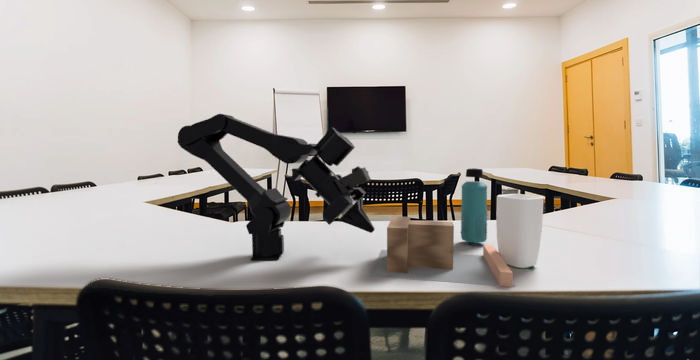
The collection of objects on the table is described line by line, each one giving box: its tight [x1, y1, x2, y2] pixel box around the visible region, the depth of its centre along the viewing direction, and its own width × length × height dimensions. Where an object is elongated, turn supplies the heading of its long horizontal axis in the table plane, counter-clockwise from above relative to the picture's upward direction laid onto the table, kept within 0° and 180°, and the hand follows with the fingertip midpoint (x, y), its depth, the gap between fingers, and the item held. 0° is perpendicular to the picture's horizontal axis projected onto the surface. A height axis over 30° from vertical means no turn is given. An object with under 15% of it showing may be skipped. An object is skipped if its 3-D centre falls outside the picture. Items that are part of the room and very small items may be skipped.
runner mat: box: [369, 244, 516, 288], centre depth 71 cm, size 26×18×3 cm
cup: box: [495, 193, 544, 269], centre depth 71 cm, size 7×7×15 cm
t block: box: [386, 216, 455, 273], centre depth 71 cm, size 13×12×9 cm
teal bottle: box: [460, 167, 489, 244], centre depth 87 cm, size 6×7×20 cm
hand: (373, 231), depth 73 cm, fingers closed
